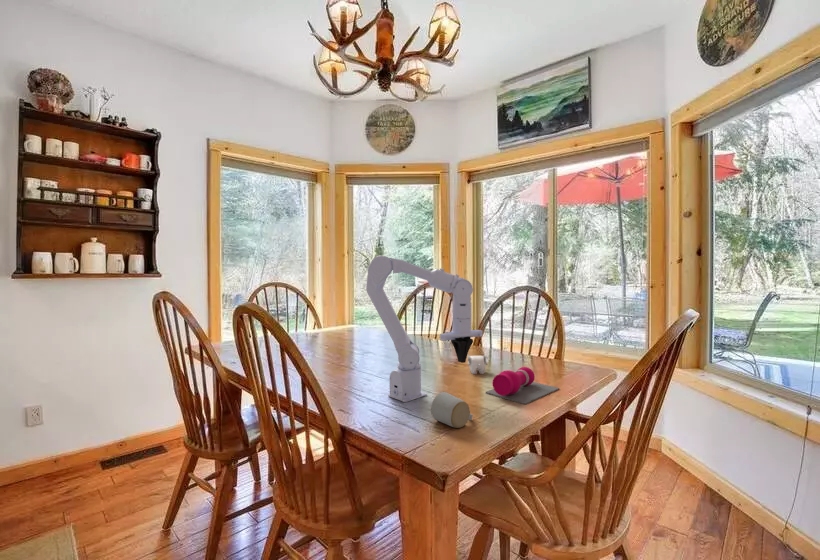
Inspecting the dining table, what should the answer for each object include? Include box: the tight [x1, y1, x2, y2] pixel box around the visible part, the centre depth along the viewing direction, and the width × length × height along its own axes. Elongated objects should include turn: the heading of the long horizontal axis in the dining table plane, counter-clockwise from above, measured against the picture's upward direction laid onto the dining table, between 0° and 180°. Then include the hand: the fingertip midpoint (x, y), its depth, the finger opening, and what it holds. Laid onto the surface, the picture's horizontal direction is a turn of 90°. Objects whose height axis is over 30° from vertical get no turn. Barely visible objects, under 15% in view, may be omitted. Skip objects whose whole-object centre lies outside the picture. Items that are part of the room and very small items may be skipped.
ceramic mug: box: [430, 391, 474, 429], centre depth 105 cm, size 10×8×7 cm
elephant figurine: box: [467, 353, 490, 375], centre depth 152 cm, size 8×10×7 cm
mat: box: [485, 381, 560, 405], centre depth 129 cm, size 20×14×1 cm
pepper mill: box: [492, 366, 536, 396], centre depth 129 cm, size 7×7×20 cm
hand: (461, 361), depth 125 cm, fingers closed
